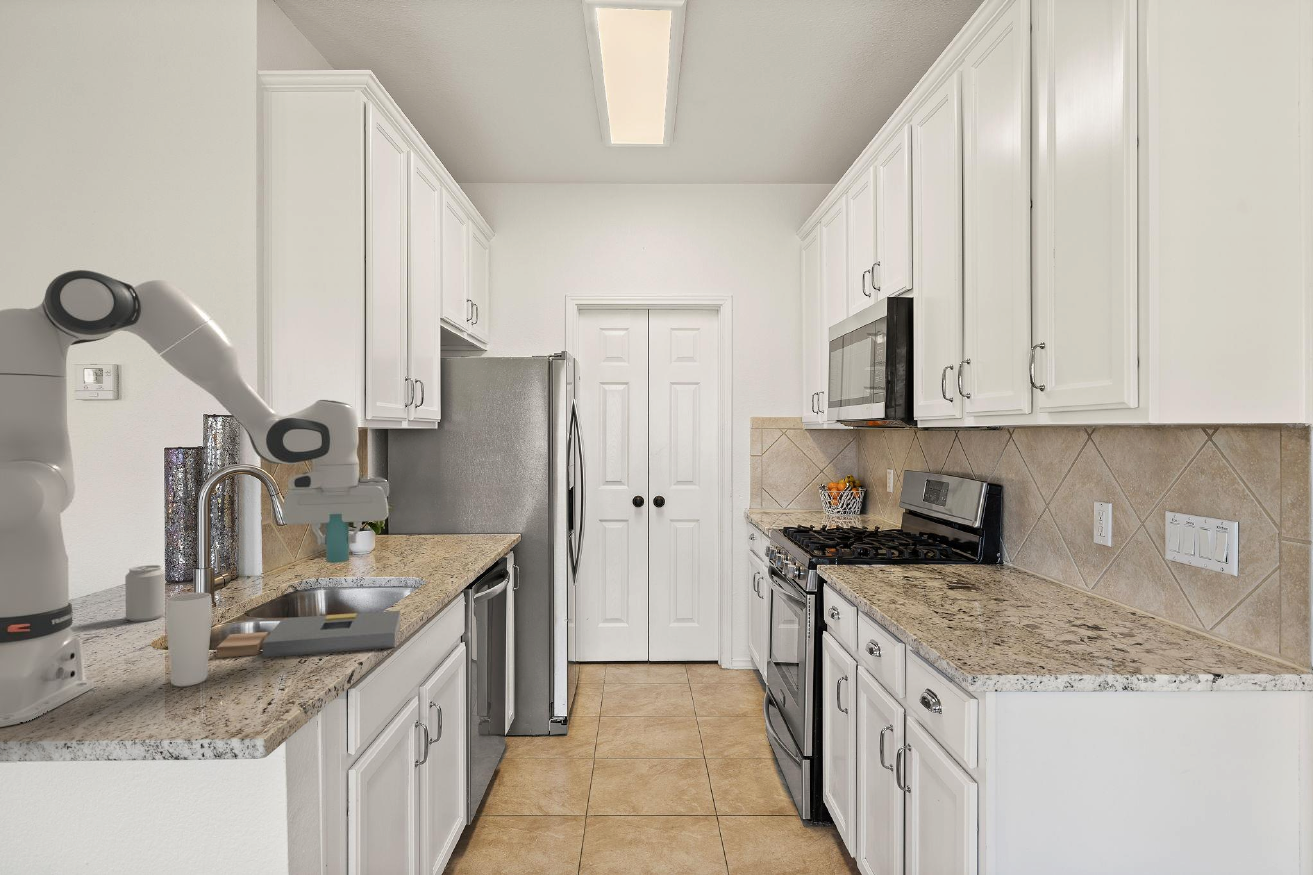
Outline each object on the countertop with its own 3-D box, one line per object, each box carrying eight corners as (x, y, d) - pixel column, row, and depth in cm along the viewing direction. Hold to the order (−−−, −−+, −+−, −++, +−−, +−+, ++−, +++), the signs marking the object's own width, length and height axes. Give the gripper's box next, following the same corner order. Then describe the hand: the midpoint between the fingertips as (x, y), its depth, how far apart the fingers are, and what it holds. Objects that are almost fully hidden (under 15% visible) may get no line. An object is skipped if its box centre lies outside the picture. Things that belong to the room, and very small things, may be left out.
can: (144, 623, 161) (144, 570, 161) (117, 621, 163) (116, 569, 162) (173, 615, 168) (173, 564, 168) (146, 613, 170) (146, 563, 170)
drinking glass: (159, 691, 120) (158, 602, 120) (174, 677, 127) (173, 593, 126) (205, 687, 122) (204, 599, 122) (217, 673, 129) (217, 591, 128)
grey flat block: (394, 647, 144) (394, 631, 144) (262, 657, 137) (262, 640, 137) (400, 623, 161) (400, 609, 161) (283, 632, 155) (283, 616, 155)
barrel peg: (347, 561, 148) (346, 513, 148) (324, 563, 147) (323, 514, 146) (350, 558, 152) (349, 511, 152) (327, 559, 151) (327, 512, 151)
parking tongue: (257, 654, 139) (257, 644, 139) (216, 657, 137) (216, 647, 137) (268, 641, 148) (268, 631, 148) (230, 644, 146) (230, 634, 146)
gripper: (390, 475, 155) (391, 538, 155) (286, 478, 149) (287, 543, 149) (388, 477, 149) (389, 543, 149) (279, 480, 143) (280, 548, 143)
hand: (337, 543), depth 149 cm, fingers closed on barrel peg, 4 cm apart
